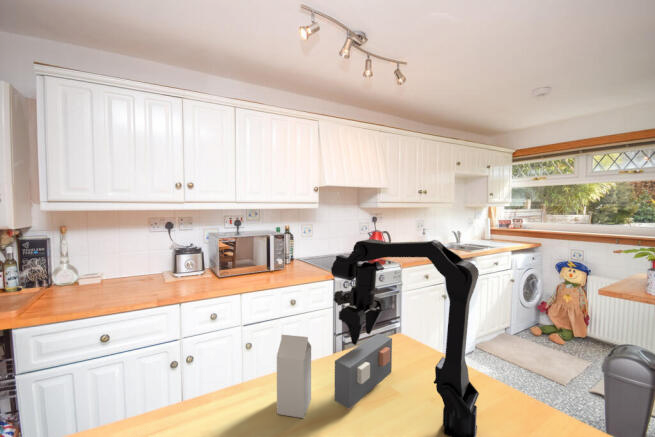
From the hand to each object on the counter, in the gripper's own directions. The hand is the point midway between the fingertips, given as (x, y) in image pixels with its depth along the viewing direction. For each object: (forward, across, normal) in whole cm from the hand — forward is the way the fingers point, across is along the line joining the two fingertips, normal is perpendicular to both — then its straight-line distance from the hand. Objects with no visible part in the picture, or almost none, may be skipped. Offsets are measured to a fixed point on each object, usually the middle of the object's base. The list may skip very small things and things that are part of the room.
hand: (361, 338), depth 82 cm
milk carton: (+16, +15, -11) cm, 25 cm away
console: (+15, -3, +1) cm, 15 cm away
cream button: (+9, +3, +3) cm, 10 cm away
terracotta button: (+9, -8, +4) cm, 12 cm away
